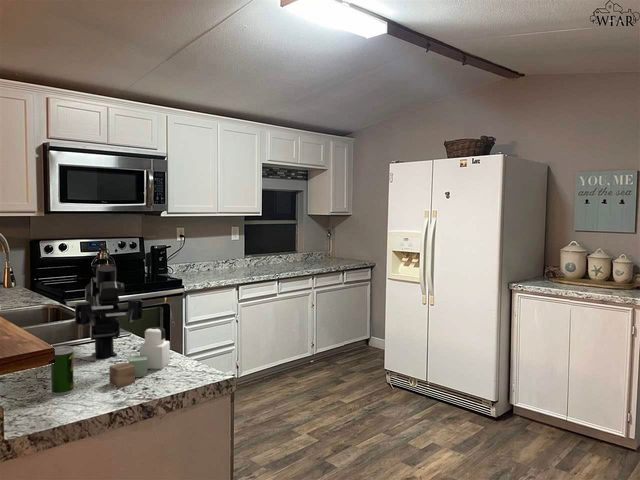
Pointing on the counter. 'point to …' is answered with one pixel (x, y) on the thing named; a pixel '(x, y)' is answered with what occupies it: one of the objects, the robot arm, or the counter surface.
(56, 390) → the beer can
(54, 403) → the counter surface
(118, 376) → the walnut block
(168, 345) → the medicine bottle
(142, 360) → the sage block
